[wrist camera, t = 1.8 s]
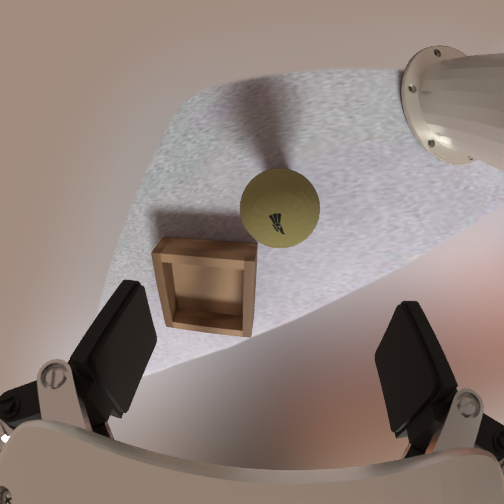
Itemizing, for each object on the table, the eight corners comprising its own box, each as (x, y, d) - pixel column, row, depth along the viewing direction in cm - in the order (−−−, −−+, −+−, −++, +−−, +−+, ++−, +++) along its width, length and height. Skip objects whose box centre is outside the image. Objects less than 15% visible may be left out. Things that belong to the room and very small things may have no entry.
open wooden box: (257, 243, 29) (254, 261, 26) (253, 317, 34) (251, 337, 31) (163, 236, 29) (151, 252, 26) (174, 308, 35) (166, 326, 32)
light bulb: (238, 180, 26) (215, 221, 17) (281, 140, 23) (283, 160, 15) (278, 220, 27) (276, 278, 19) (321, 184, 25) (343, 228, 16)
